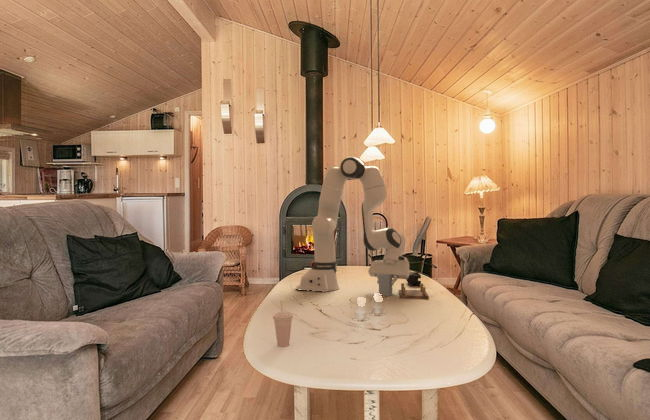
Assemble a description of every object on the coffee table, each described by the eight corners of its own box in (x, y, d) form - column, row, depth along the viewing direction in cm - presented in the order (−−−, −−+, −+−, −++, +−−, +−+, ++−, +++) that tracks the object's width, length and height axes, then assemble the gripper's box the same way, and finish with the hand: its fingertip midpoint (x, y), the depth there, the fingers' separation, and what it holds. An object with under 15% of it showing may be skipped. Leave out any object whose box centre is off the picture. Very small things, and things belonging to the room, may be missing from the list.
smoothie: (283, 340, 139) (282, 298, 139) (297, 344, 135) (296, 300, 135) (269, 345, 134) (268, 301, 134) (283, 349, 130) (282, 304, 130)
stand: (400, 298, 196) (399, 288, 196) (398, 292, 209) (398, 282, 209) (428, 298, 195) (428, 288, 195) (425, 292, 208) (425, 283, 208)
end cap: (404, 283, 232) (404, 270, 232) (417, 283, 232) (417, 270, 232) (407, 286, 222) (407, 274, 222) (421, 286, 222) (420, 274, 222)
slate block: (378, 295, 203) (378, 274, 203) (382, 293, 208) (382, 273, 207) (388, 296, 201) (388, 275, 201) (392, 294, 205) (392, 273, 205)
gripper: (370, 256, 215) (363, 278, 207) (409, 258, 205) (403, 281, 197) (374, 263, 219) (367, 285, 211) (412, 266, 209) (406, 289, 201)
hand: (385, 283), depth 204 cm, fingers closed on slate block, 5 cm apart
